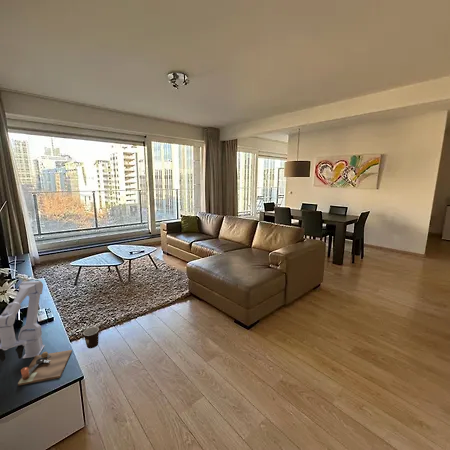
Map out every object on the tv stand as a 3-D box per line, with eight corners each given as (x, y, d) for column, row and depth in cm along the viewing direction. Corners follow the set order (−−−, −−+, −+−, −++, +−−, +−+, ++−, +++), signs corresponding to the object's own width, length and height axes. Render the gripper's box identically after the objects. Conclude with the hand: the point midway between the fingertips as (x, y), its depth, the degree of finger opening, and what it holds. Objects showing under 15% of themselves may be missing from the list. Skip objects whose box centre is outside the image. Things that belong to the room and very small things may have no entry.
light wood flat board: (35, 357, 144) (34, 350, 143) (72, 351, 149) (71, 344, 148) (17, 385, 125) (16, 378, 124) (60, 378, 130) (58, 370, 129)
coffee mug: (102, 345, 155) (100, 331, 153) (87, 351, 149) (85, 337, 147) (96, 336, 163) (94, 323, 161) (81, 342, 157) (80, 328, 155)
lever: (40, 360, 140) (38, 352, 139) (51, 360, 140) (50, 352, 139) (20, 379, 127) (18, 371, 126) (33, 380, 127) (31, 371, 126)
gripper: (-15, 344, 121) (-10, 367, 124) (20, 339, 125) (24, 361, 128) (-6, 335, 128) (-1, 357, 131) (26, 330, 132) (30, 352, 135)
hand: (12, 358), depth 130 cm, fingers open, 7 cm apart
